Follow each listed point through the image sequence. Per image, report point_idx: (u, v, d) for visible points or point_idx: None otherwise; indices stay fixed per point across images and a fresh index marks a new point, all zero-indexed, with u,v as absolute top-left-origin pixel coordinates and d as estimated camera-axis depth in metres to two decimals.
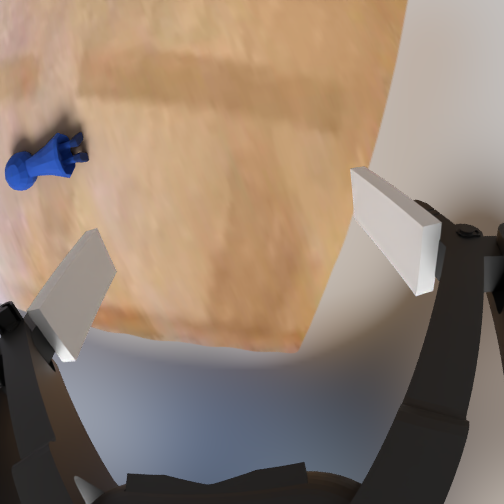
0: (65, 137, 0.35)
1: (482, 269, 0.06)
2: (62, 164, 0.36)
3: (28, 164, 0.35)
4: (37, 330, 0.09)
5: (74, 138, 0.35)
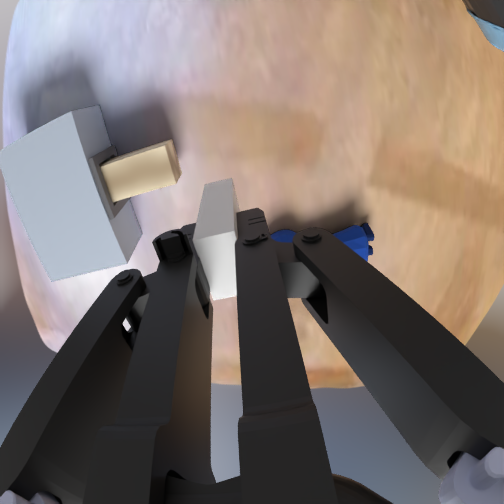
0: None
1: (277, 267, 0.08)
2: None
3: None
4: (200, 262, 0.11)
5: (370, 232, 0.40)
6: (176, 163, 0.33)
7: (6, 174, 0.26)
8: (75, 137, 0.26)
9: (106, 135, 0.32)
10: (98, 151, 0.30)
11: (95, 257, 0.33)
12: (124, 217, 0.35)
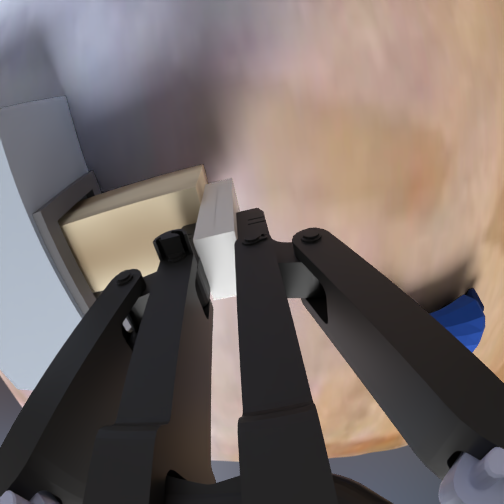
0: None
1: (277, 267, 0.08)
2: None
3: None
4: (200, 262, 0.11)
5: (480, 304, 0.24)
6: None
7: None
8: (3, 167, 0.10)
9: (79, 151, 0.17)
10: (59, 189, 0.14)
11: None
12: None
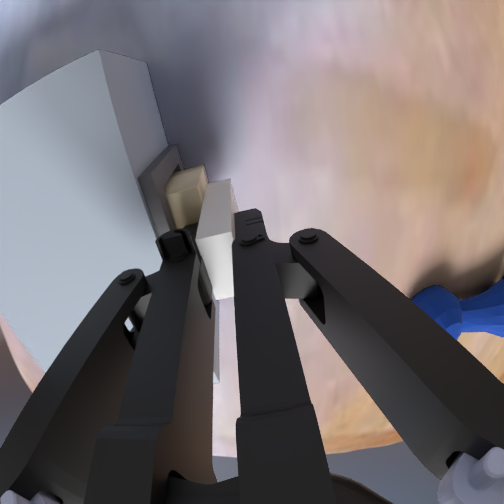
0: None
1: (274, 267, 0.08)
2: None
3: (469, 318, 0.23)
4: (203, 261, 0.11)
5: None
6: None
7: None
8: (105, 117, 0.10)
9: (160, 123, 0.17)
10: (153, 157, 0.14)
11: None
12: None
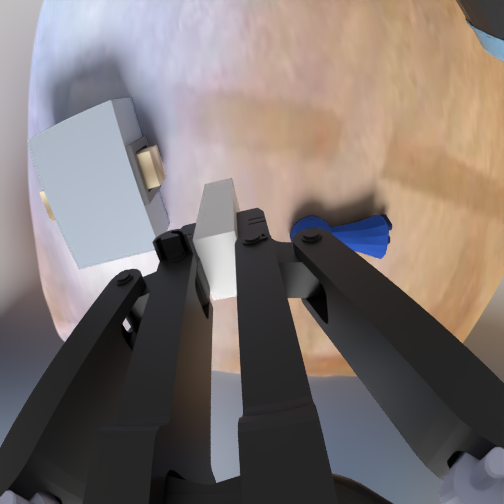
0: None
1: (277, 267, 0.08)
2: None
3: (338, 237, 0.41)
4: (200, 262, 0.11)
5: (388, 222, 0.42)
6: (160, 167, 0.35)
7: (37, 161, 0.29)
8: (114, 124, 0.28)
9: (138, 126, 0.35)
10: (133, 140, 0.32)
11: (127, 243, 0.35)
12: (155, 205, 0.37)
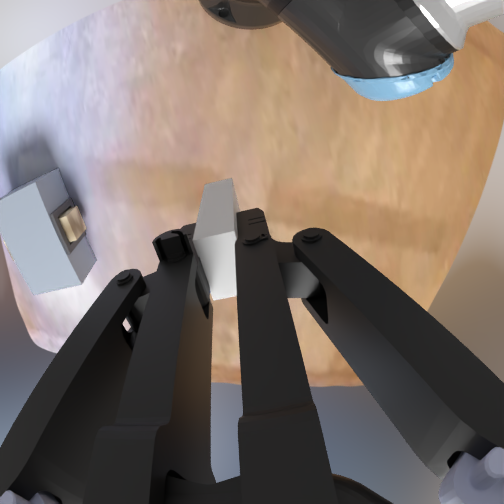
0: None
1: (277, 267, 0.08)
2: None
3: None
4: (200, 262, 0.11)
5: None
6: (80, 223, 0.44)
7: None
8: (39, 200, 0.37)
9: (65, 190, 0.44)
10: (58, 206, 0.41)
11: (61, 279, 0.44)
12: (80, 250, 0.46)
